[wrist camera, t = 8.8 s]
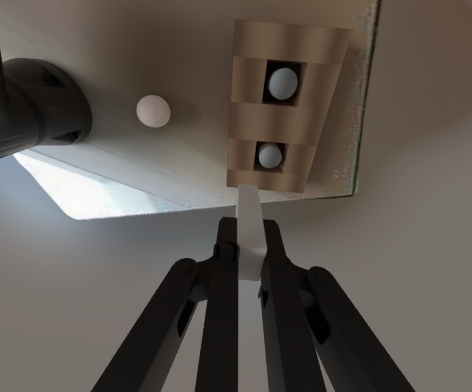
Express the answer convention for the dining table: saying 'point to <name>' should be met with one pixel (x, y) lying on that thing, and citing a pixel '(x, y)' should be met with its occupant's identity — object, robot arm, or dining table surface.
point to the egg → (153, 111)
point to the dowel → (269, 154)
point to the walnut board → (281, 113)
